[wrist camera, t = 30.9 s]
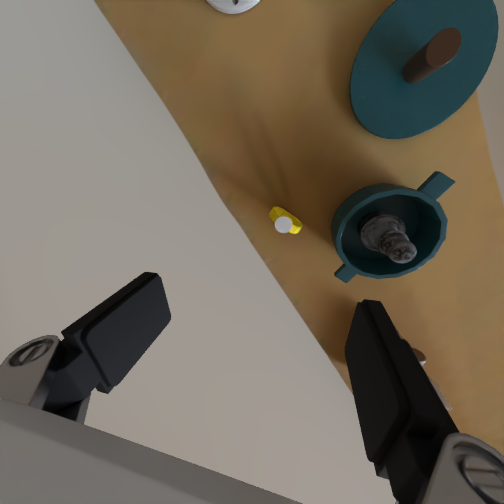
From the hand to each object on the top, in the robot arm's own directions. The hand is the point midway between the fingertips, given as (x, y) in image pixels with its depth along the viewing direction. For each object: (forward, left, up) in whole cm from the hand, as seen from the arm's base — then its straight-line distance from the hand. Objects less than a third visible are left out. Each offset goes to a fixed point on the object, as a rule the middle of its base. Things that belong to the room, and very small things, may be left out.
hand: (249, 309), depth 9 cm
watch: (+3, 0, -28) cm, 29 cm away
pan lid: (-16, +14, -28) cm, 35 cm away
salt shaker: (+4, +15, -28) cm, 32 cm away
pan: (+4, +15, -28) cm, 32 cm away
